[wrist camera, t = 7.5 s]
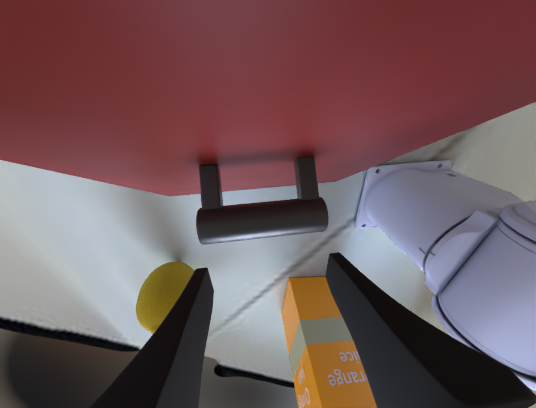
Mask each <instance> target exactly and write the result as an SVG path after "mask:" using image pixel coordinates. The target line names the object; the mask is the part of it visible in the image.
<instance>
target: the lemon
mask: <svg viewBox="0 0 536 408" xmlns="http://www.w3.org/2000/svg"><path fill="white" fill-rule="evenodd" d="M193 273H194V271H193V269H192V268H191V267H190V266H188V265H187V264H184V263H181V262H170V263H166V264H164V265H161V266H160V267H158V268H157V269H155V270H154V271H153V272H152V273H151V274H150V275H149V276H148V278H147V279H146V280H145V282H144V284H143V285H142V287H141V290H140V293H139V296H138V300H137V304H136V314H137V319H138V321H139V322H140V324H141V325H142V326H143V327H144V328H145V329H146V330H148V331H151V333H152V334H154V332H155V331H156V330H157V328H158V327H159V326H160V324H161V323H162V321H163V320H164V319H165V317H166V316H167V314H168V313H169V312H170V310H171V309H172V307H173V306H174V304H175V303H176V301H177V299H178V298H179V296H180V295H181V293H182V292H183V290H184V288H185V287H186V285H187V283H188V282H189V280H190V278H191V276H192V275H193Z"/></svg>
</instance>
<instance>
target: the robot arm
mask: <svg viewBox="0 0 536 408" xmlns="http://www.w3.org/2000/svg"><path fill="white" fill-rule="evenodd" d="M452 164H453V162H452V161H450V160H440V161H428V162H416V163H404V164H392V165H380V166H373V167H371V168H369V169H368V170H367V174H366V179H365V183H364V187H363V191H362V195H361V200H360V204H359V208H358V212H357V217H356V221H355V227H356V228H357V229H362V228H371V227H378V228H379V229H380V230H381V231H382V232H383V233H384V234H385V235H386V236H387V237H388V238H389V239H390V240H391V241H392V242H393V243H394V244H395V245H397V246H398V247H399V248H400V249H401V250H402V251H403V252H404V253H405V254H406V255H407V256H408V257H409V258H410V259H411V260H412V261H413V262H414V263H415V264H416V265H417V266H418V267H419V268H420V269H421V270H422V271H423V272H424V273H425V274H426V279H425V281H424V284H425V285H426V286H427V287H428V288H429V289H430V290H431V291H432V292H433V293H434V296H433V298H432V307H433V310H434V313H435V315H436V317H437V319H438V320H439V322H440V323H441V325H442V326H443V328H444V329H445V330H446V331H447V332H448V334H449V335H450V336H449V335H448V334H446V333H444V332H443V331H441V330H439V329H437V328H436V327H434V326H433V325H431V324H430V323H428V322H426V321H425V320H423V319H422V318H420V317H419V316H417V315H415V314H414V313H412V312H411V311H410V310H408V309H407V308H405V307H404V306H403V305H401V304H400V303H398V302H397V301H396V300H394V299H393V298H391V297H390V296H389V295H388V294H386V293H385V292H384V291H383V290H381V289H380V288H379V287H378V286H376V285H375V284H374V283H373V282H372V281H370V280H369V279H368V278H367V277H366V276H365V275H363V274H362V273H361V272H360V271H359V270H358V269H357V268H356V267H355V266H353V265H352V264H351V263H350V262H349V261H348V260H347V259H346V258H345V257H344V256H343V255H341V254H340V253H330V254H329V259H328V265H327V270H326V276H325V277H326V280H327V283H328V286H329V289H330V292H331V294H332V296H333V298H334V301H335V303H336V305H337V307H338V309H339V311H340V313H341V315H342V317H343V320H344V322H345V324H346V326H347V328H348V330H349V332H350V334H351V337H352V339H353V341H354V344H355V347H356V349H357V352H358V354H359V357H360V360H361V362H362V365H363V368H364V371H365V374H366V376H367V379H368V382H369V385H370V388H371V391H372V394H373V397H374V400H375V403H376V406H377V408H528V407H530V406H532V405H534V404H535V403H536V395H535V394H534V393H533V392H532V391H531V390H530V389H529V388H531V389H533V390H535V391H536V201H527V202H523V201H522V200H521V199H520V198H518V197H517V196H515V195H514V194H512V193H510V192H507V191H505V190H502V189H499V188H497V187H494V186H491V185H488V184H486V183H483V182H480V181H478V180H475V179H472V178H470V177H467V176H464V175H461V174H459V173H456V172H453V171H451V170H450V169H451V167H452ZM377 169H378V171H377V172H376V170H377ZM213 294H214V290H213V286H212V283H211V279H210V275H209V272H208V268H199V269H196V270H195V271H194V273H193V275H192V276H191V278H190V280H189V282H188V283H187V285H186V287H185V288H184V290H183V292H182V293H181V295H180V296H179V298H178V299H177V301H176V303H175V304H174V306H173V307H172V309H171V310H170V312H169V313H168V314H167V316H166V317H165V319H164V320H163V321H162V323H161V324H160V326H159V327H158V328H157V330H156V331H155V332H154V334H153V335H152V336H151V338H150V339H149V340H148V341H147V343H146V344H145V345H144V346H143V348H142V349H141V350H140V351H139V353H138V354H137V355H136V356H135V357H134V359H133V360H132V361H131V362H130V363H129V365H127V367H126V368H125V369H124V370H123V371H122V372H121V374H119V376H118V377H117V378H116V379H115V380H114V381H113V382H112V383H111V384H110V385H109V386H108V387H107V389H106V390H105V391H104V392H103V393H102V394H101V395H100V396H99V397H98V398H97V399H96V400H95V401H94V402H93V403H92V404H91V405H90V406H89V407H88V408H198V407H199V395H200V385H201V375H202V365H203V358H204V352H205V347H206V341H207V336H208V331H209V325H210V320H211V314H212V307H213ZM528 387H529V388H528Z"/></svg>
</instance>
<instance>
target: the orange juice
mask: <svg viewBox="0 0 536 408" xmlns="http://www.w3.org/2000/svg"><path fill="white" fill-rule="evenodd" d="M282 319H283V324H284V330H285V335H286V341H287V346H288V352H289V359H290V365H291V370H292V376H293V380H294V385H295V391H296V396H297V402H298V407H299V408H377V406H376V403H375V400H374V397H373V394H372V391H371V388H370V385H369V382H368V379H367V376H366V374H365V371H364V368H363V365H362V362H361V360H360V357H359V354H358V352H357V349H356V347H355V344H354V341H353V339H352V337H351V334H350V332H349V330H348V328H347V326H346V324H345V322H344V320H343V317H342V315H341V313H340V311H339V309H338V307H337V305H336V303H335V301H334V298H333V296H332V294H331V292H330V289H329V286H328V283H327V280H326V277H300V278H289V280H288V285H287V290H286V294H285V299H284V303H283V308H282Z"/></svg>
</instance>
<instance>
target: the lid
mask: <svg viewBox="0 0 536 408" xmlns="http://www.w3.org/2000/svg"><path fill="white" fill-rule="evenodd" d="M534 102H536V0H0V160H4V161H8V162H13V163H18V164H22V165H27V166H32V167H36V168H41V169H45V170H50V171H55V172H59V173H64V174H69V175H73V176H78V177H82V178H87V179H92V180H96V181H101V182H106V183H110V184H115V185H119V186H124V187H129V188H133V189H138V190H142V191H147V192H152V193H156V194H161V195H166V196H178V195H190V194H201V202H202V208H200V209H199V210H198V212H197V217H196V228H197V235H198V238H199V241H200V243H201V244H213V243H222V242H231V241H240V240H249V239H258V238H267V237H276V236H285V235H294V234H303V233H312V232H321V231H325V230H326V229H327V226H328V210H327V206H326V203H325V201H324V200H323V198H321V197H319V193H318V184H317V183H325V182H336V181H338V180H341V179H343V178H346V177H348V176H351V175H353V174H356V173H358V172H361V171H363V170H366V169H368V168H371V167H373V166H376V165H378V164H381V163H383V162H386V161H388V160H391V159H393V158H396V157H398V156H401V155H403V154H406V153H408V152H411V151H413V150H416V149H418V148H421V147H423V146H426V145H428V144H431V143H433V142H436V141H438V140H441V139H443V138H446V137H448V136H451V135H453V134H456V133H458V132H461V131H463V130H466V129H468V128H471V127H473V126H476V125H478V124H481V123H483V122H486V121H488V120H491V119H493V118H496V117H498V116H501V115H503V114H506V113H509V112H511V111H514V110H516V109H519V108H521V107H524V106H526V105H529V104H531V103H534ZM291 185H296V186H297V196H298V199H291V200H281V201H270V202H260V203H249V204H238V205H228V206H223V200H222V192H224V191H235V190H246V189H257V188H269V187H280V186H291Z"/></svg>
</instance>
